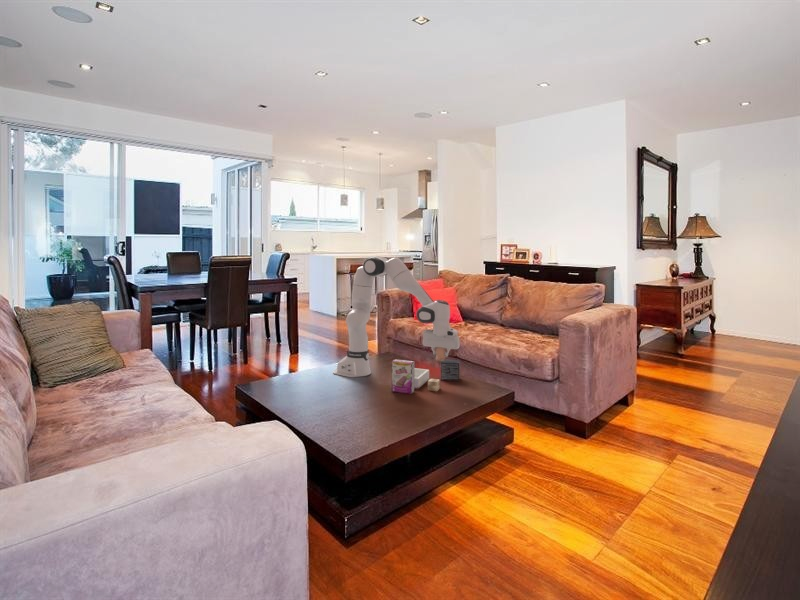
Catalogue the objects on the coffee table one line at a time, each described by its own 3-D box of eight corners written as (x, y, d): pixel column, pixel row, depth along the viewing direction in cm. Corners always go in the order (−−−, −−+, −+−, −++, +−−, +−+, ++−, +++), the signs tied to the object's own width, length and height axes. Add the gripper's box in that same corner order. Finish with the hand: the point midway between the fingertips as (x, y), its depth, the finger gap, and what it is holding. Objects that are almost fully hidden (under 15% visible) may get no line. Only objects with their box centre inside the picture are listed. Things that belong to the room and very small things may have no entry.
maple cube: (427, 390, 238) (427, 381, 238) (430, 387, 243) (430, 378, 242) (436, 391, 236) (436, 382, 236) (439, 388, 241) (439, 379, 240)
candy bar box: (391, 392, 235) (391, 361, 233) (394, 389, 240) (394, 358, 238) (411, 394, 231) (411, 363, 229) (414, 391, 236) (414, 360, 234)
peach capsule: (434, 360, 244) (435, 347, 243) (437, 358, 248) (437, 345, 247) (443, 361, 242) (443, 348, 241) (446, 359, 246) (446, 346, 245)
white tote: (393, 385, 246) (393, 375, 245) (405, 376, 263) (405, 367, 262) (418, 388, 240) (418, 378, 240) (429, 379, 257) (429, 369, 257)
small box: (459, 377, 261) (459, 360, 259) (459, 381, 254) (459, 362, 253) (440, 377, 262) (440, 359, 260) (440, 380, 255) (440, 362, 254)
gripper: (421, 329, 244) (420, 354, 246) (457, 333, 236) (457, 359, 238) (424, 327, 250) (424, 352, 251) (461, 331, 242) (460, 356, 244)
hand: (440, 355), depth 245 cm, fingers closed on peach capsule, 5 cm apart
